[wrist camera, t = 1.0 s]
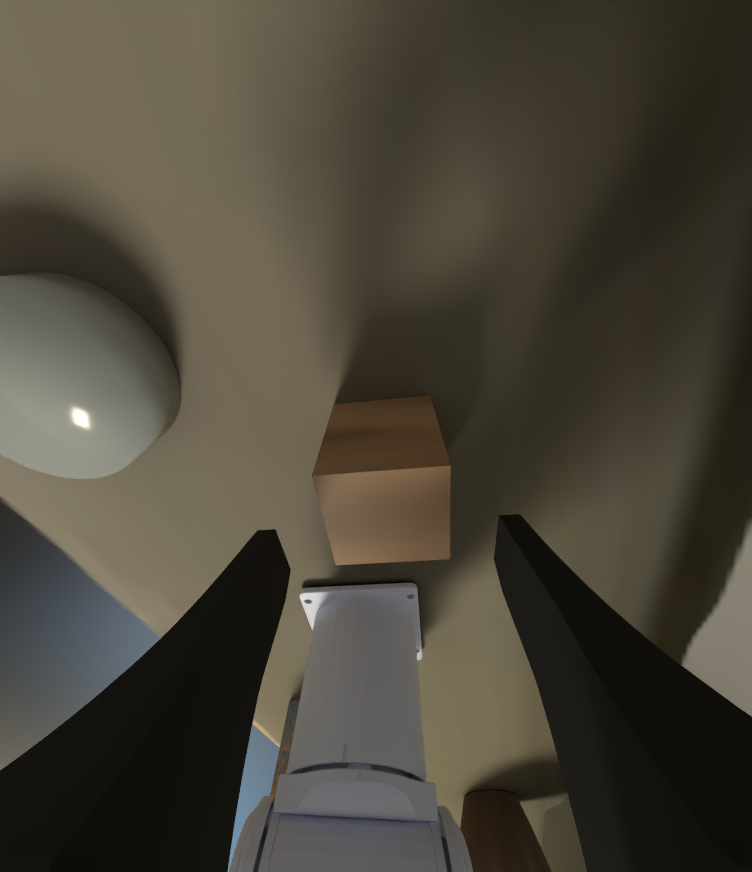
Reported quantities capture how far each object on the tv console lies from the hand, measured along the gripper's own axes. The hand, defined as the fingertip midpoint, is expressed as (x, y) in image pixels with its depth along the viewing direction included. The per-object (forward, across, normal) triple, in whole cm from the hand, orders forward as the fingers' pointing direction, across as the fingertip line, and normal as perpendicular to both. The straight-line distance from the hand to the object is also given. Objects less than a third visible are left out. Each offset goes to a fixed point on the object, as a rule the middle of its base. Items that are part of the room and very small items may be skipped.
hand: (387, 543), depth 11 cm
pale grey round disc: (+7, +13, -5) cm, 15 cm away
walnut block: (+7, 0, 0) cm, 7 cm away
